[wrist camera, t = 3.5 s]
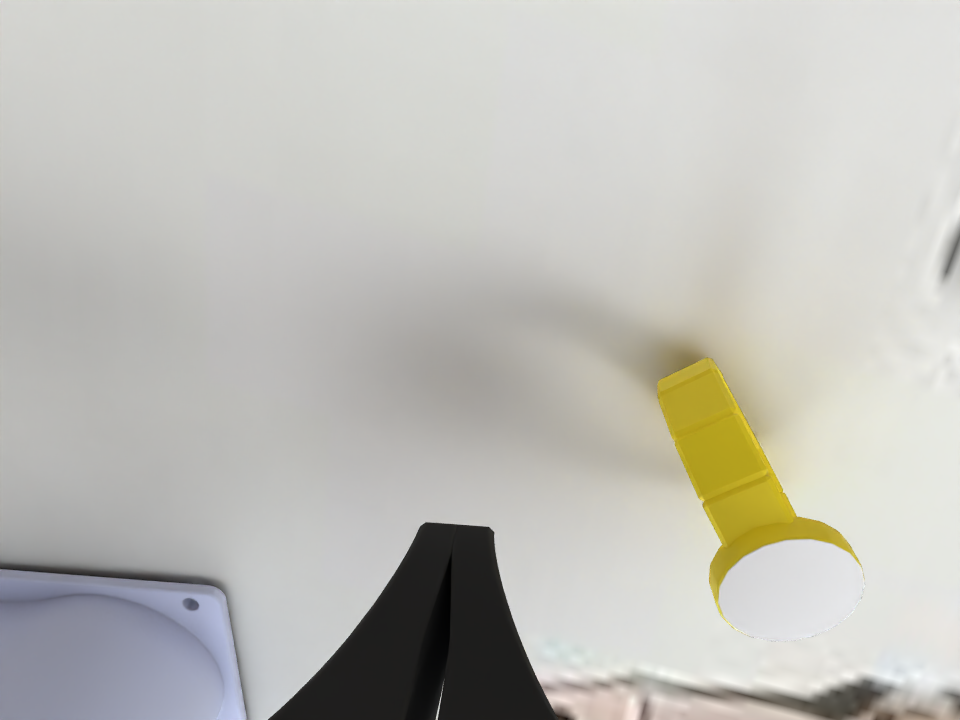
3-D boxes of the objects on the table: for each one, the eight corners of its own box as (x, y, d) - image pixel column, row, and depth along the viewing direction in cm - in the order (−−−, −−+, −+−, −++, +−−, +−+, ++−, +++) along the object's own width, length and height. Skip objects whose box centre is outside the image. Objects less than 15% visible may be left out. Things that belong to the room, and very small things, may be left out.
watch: (616, 358, 18) (649, 507, 13) (718, 307, 17) (799, 443, 12) (713, 521, 20) (776, 706, 15) (809, 482, 20) (911, 663, 14)
